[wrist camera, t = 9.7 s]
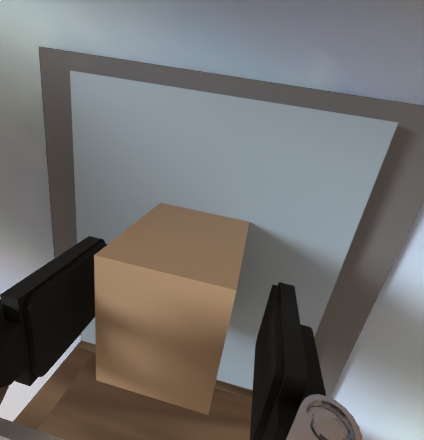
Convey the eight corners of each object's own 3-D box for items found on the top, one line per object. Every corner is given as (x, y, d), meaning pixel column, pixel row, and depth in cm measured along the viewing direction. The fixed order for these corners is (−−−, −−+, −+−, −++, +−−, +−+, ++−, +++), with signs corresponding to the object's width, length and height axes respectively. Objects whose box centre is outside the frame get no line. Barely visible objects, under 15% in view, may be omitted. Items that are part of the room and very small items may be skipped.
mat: (47, 49, 12) (38, 46, 12) (456, 112, 10) (465, 112, 10) (65, 323, 18) (59, 328, 18) (323, 398, 16) (324, 406, 16)
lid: (85, 74, 12) (-77, 36, 6) (386, 121, 10) (525, 128, 5) (91, 328, 17) (7, 428, 12) (288, 384, 16) (298, 529, 10)
